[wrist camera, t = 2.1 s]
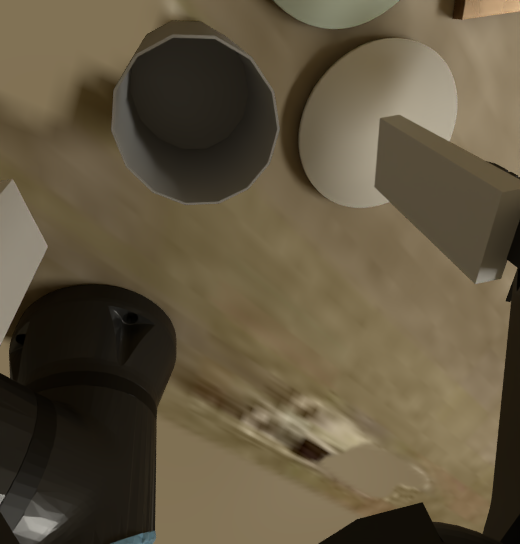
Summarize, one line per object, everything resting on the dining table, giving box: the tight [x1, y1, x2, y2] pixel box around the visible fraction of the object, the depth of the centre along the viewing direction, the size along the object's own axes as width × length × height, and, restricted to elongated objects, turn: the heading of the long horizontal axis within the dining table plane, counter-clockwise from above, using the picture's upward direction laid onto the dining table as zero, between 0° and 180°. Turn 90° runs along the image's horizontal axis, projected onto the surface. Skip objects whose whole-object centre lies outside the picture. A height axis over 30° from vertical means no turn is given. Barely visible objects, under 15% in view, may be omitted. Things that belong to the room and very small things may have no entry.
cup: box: [111, 21, 280, 205], centre depth 24 cm, size 8×8×10 cm
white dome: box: [298, 38, 457, 208], centre depth 31 cm, size 13×13×1 cm
